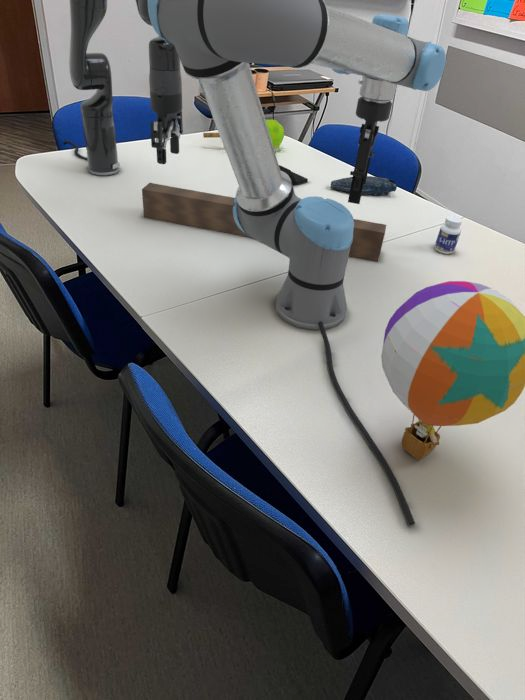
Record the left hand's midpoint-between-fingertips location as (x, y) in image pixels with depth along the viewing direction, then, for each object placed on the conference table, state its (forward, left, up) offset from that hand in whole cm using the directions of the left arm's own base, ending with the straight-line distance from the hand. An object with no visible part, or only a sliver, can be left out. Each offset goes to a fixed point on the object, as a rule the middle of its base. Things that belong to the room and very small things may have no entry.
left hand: (168, 158), depth 133 cm
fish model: (+14, +63, -16) cm, 67 cm away
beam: (+21, +15, -16) cm, 30 cm away
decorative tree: (-37, +54, -16) cm, 68 cm away
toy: (+94, -12, -16) cm, 96 cm away
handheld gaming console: (-6, +48, -16) cm, 51 cm away
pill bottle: (+54, +53, -16) cm, 77 cm away
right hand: (+39, +30, -1) cm, 49 cm away
